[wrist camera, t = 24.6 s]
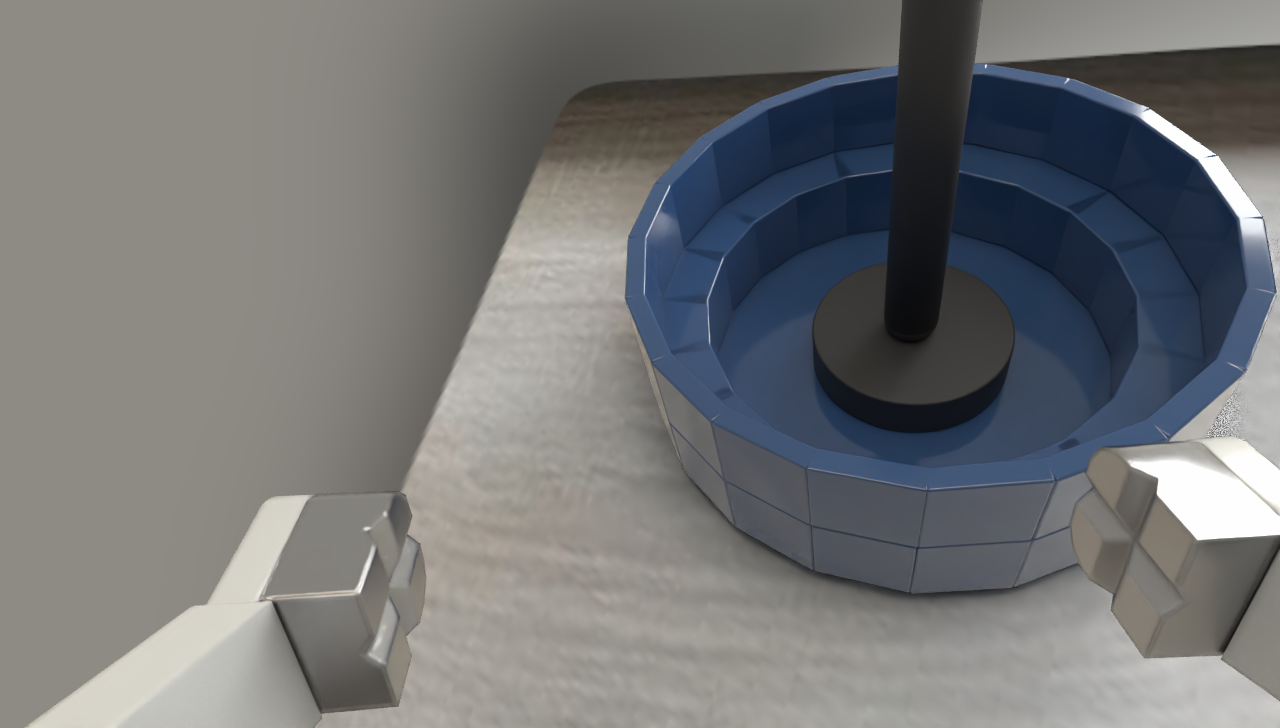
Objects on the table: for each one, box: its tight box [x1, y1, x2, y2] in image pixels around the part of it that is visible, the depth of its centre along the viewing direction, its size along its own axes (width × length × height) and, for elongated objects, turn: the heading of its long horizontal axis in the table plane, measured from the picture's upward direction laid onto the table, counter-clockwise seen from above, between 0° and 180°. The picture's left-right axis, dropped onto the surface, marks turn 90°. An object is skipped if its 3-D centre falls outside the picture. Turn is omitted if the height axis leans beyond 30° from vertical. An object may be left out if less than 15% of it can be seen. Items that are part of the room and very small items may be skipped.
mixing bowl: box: [625, 64, 1277, 594], centre depth 24 cm, size 16×16×6 cm
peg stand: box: [812, 0, 1015, 432], centre depth 19 cm, size 6×6×18 cm
